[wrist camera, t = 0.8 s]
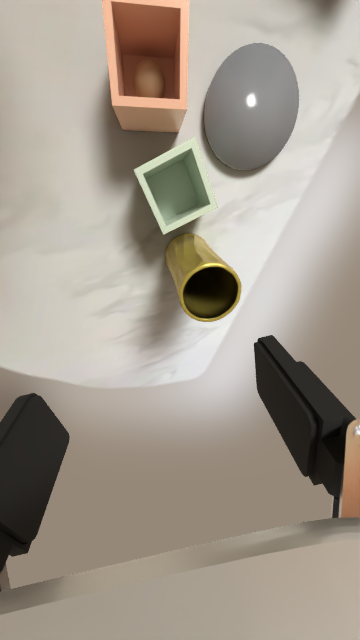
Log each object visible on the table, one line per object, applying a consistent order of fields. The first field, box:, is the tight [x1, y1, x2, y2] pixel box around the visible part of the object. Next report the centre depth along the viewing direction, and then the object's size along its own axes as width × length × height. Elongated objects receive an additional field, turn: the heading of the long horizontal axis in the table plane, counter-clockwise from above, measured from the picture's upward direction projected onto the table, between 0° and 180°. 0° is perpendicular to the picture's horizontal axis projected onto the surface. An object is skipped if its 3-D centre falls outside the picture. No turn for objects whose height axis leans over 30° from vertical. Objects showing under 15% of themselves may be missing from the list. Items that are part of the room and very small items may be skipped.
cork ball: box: [133, 60, 165, 98], centre depth 21 cm, size 3×3×3 cm
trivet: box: [204, 43, 299, 170], centre depth 24 cm, size 10×10×1 cm
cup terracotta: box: [102, 0, 189, 133], centre depth 20 cm, size 6×6×7 cm
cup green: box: [134, 137, 218, 235], centre depth 24 cm, size 6×6×7 cm
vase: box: [166, 233, 241, 322], centre depth 25 cm, size 6×6×14 cm
